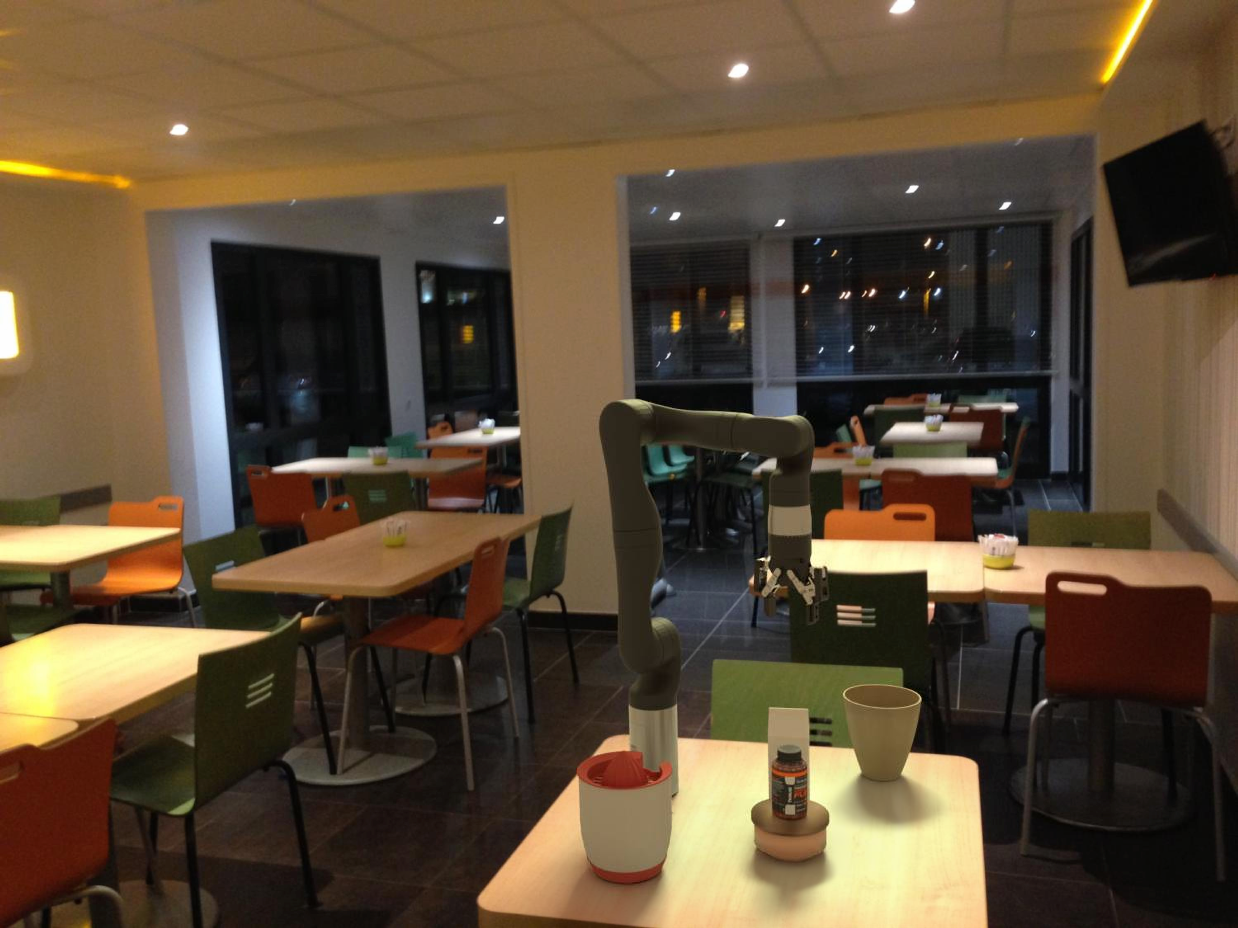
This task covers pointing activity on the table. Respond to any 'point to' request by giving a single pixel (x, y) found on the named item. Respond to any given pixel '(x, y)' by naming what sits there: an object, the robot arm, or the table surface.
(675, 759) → the robot arm
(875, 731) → the plant pot
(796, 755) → the supplement bottle
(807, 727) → the milk carton
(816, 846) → the terracotta bowl
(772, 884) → the table surface
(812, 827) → the walnut lid
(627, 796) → the citrus juicer
